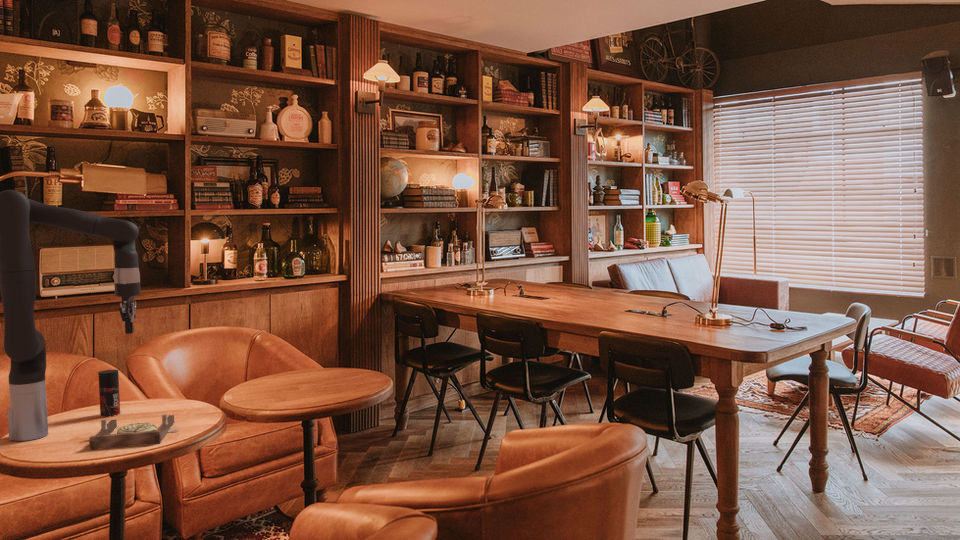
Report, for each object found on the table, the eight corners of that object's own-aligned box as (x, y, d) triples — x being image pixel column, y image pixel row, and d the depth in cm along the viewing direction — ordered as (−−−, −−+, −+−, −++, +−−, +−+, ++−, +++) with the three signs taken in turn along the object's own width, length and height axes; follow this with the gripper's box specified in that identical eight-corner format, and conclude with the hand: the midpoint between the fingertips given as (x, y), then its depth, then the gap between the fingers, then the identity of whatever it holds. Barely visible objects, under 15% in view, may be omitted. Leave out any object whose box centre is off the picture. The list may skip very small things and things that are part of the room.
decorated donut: (132, 445, 193) (132, 432, 193) (109, 440, 198) (109, 428, 198) (164, 435, 202) (163, 423, 202) (141, 430, 207) (141, 418, 207)
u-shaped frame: (78, 450, 188) (77, 431, 188) (101, 428, 210) (100, 411, 209) (171, 442, 195) (170, 424, 194) (184, 421, 216) (183, 405, 216)
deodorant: (107, 412, 229) (105, 369, 228) (123, 412, 228) (121, 369, 227) (96, 417, 223) (94, 373, 222) (113, 417, 222) (111, 373, 222)
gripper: (120, 280, 223) (122, 331, 224) (108, 283, 210) (111, 337, 211) (144, 279, 225) (146, 330, 226) (134, 282, 212) (136, 335, 213)
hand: (129, 333), depth 218 cm, fingers closed
